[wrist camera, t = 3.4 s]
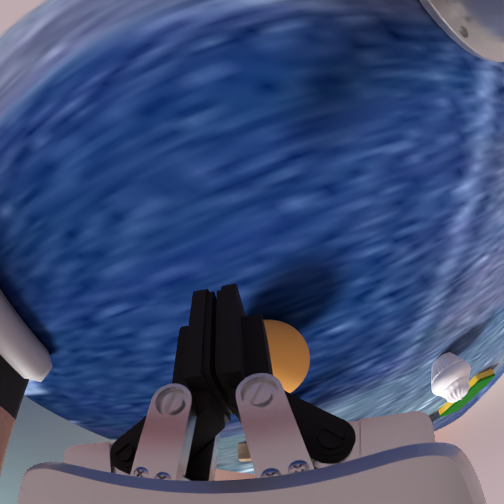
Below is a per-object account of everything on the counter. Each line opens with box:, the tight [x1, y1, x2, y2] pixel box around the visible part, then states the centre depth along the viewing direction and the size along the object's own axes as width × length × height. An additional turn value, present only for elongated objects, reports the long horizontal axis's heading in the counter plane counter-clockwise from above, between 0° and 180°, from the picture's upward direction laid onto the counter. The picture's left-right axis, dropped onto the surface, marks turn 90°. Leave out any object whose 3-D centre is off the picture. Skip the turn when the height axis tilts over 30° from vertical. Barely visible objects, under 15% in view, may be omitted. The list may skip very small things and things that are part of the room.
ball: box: [263, 320, 310, 393], centre depth 19 cm, size 6×6×6 cm
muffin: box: [431, 352, 471, 403], centre depth 26 cm, size 6×6×7 cm
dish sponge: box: [438, 369, 495, 417], centre depth 39 cm, size 7×14×2 cm, turn 171°
